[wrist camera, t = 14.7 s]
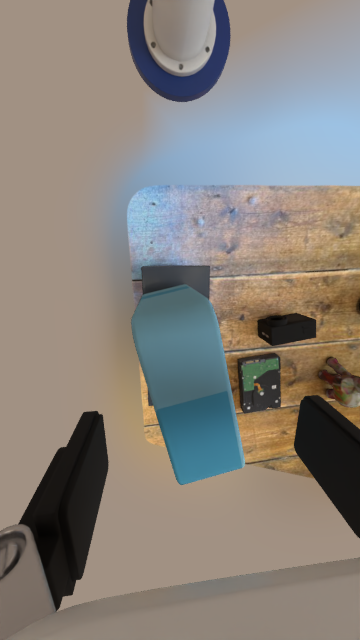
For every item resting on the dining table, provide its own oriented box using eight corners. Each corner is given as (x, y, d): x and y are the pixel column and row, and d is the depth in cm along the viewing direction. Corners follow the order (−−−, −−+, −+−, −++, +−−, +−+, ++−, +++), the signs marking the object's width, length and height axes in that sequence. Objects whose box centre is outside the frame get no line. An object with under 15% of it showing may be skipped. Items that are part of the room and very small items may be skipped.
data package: (142, 292, 22) (126, 322, 11) (185, 282, 22) (215, 300, 11) (170, 392, 25) (181, 499, 14) (207, 382, 25) (249, 479, 14)
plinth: (150, 265, 48) (141, 266, 22) (181, 265, 48) (210, 265, 22) (153, 334, 51) (148, 406, 25) (182, 333, 52) (206, 401, 26)
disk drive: (276, 400, 60) (274, 351, 56) (281, 407, 57) (280, 356, 53) (240, 407, 59) (236, 358, 55) (244, 414, 57) (240, 363, 53)
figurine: (344, 356, 58) (405, 386, 44) (335, 394, 61) (390, 435, 47) (317, 356, 58) (371, 387, 43) (309, 395, 60) (358, 436, 46)
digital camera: (296, 308, 54) (317, 314, 47) (297, 328, 55) (316, 337, 48) (256, 315, 53) (271, 322, 46) (258, 336, 54) (272, 346, 48)
